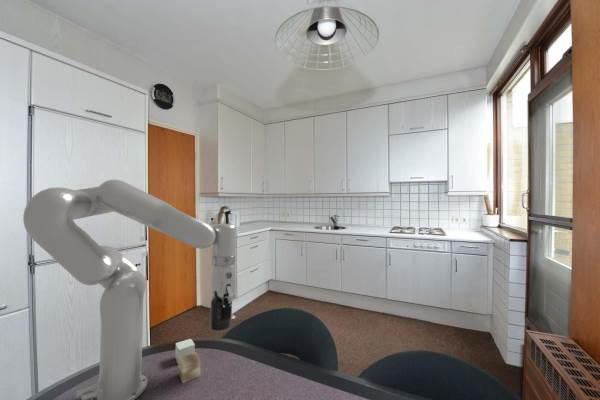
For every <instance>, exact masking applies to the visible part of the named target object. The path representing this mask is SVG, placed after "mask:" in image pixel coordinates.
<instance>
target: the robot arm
mask: <svg viewBox="0 0 600 400" xmlns="http://www.w3.org/2000/svg"><path fill="white" fill-rule="evenodd" d="M113 212H114V213H117V214H119V215H121V216H124V217H126V218H129V219H131V220H133V221H136V222H137V223H140V224H142V225H144V226H146V227H148V228H151V229H153V230H154V231H157V232H159V233H162V234H164V235H166V236H169V237H172V238H173V239H175V240H178V241H179V242H183V244H187V245H189V246H191V247H193V248H196V249H201V250H204V249H207V248H210V247H211V246H212V249H211V250H212V252H211V256H212V257H211V267H212V276H211V291H212V299H213V298H214V297H215V296H214V292H215V291H216V292H217V296H218V297H220V298H221V301H222V307H221V315H220V319H221V320H225V319H229V318H230V317H231V306H232V307H233V300H234V297H235V296H236V270H235V265H236V252H237V251H236V249H237V248H236V245H237V242H236V241H237V225H235V224H233V223H232V224H231V223H217V224H213V223H206V222H204V221H201V220H199V219H198V218H195V217H193V216H191V215H189V214H187V213H185V212H183V211H181V210H179V209H177V208H175V207H174V206H173V205H171V204H169V203H168V202H166V201H164V200H163V199H160V198H158V197H156V196H154V195H152V194H150V193H147V192H146V191H144V190H143V189H140V188H138V187H136V186H133V185H131V184H130V183H127V182H125V181H123V180H120V179H109V180H106V181H104V182H102V183H101V184H100V185H99V186H93V187H88V188H82V189H73V188H67V187H50V188H46V189H43V190H40V191H39V192H37V193H36V194H34V195H33V196H32V197H31V199H29V201H28V202H27V204H26V206H25V208H24V210H23V215H22V217H23V221H22V222H23V225H24V228H25V230H26V232H27V234H28V236H29V237H30V238H31V239H32V240H33V241H34V242H35V243H36V244H37V245H38V246H40V248H41V249H43V250H44V251H45V252H46V253H47V254H48V255H49V256H51V258H53V260H55V261H56V262H57V263H58V264H59V265H60V266H61V267H62V268H64V270H66V271H67V272H68V273H69V274H70V275H71V276H72V277H73V278H74V279H75V280H76V281H77V282H79V283H81V284H82V285H86V286H96V285H101V287H102V288H104V290H103V292H102V294H101V297H100V302H99V315H100V316H99V317H100V344H99V345H100V349H99V350H100V351H99V369H98V370H99V371H98V373H99V376H98V378H97V382H96V383H93V384H92V385H91V386H88V387H84V388H81V389H78V390H76V392H75V400H79V399H81V400H135V399H138V397H140V396H141V395H142V394H143V393H144V392H145V390H146V388H147V387H148V378H147V376H145V375H144V374H142V365H143V364H142V362H143V361H142V359H143V357H142V356H143V331H144V329H143V326H144V325H143V324H144V297H145V292H146V290H147V289H146V288H147V279H146V277H145V276H144V274H143V273H142V272H141V271H140V270H139V268H137V267H136V266H135V265H134V264H133V263H132V262H131V261H130V260H129V259H128V258H127V257H126V256H125V255H123V253H122V252H120V250H118V249H116V248H114V247H113V246H109V245H100V244H98V242H97V241H95V240H94V239H93V238H92V237H91V236H90V235H89V234H88V233H87V232H86V231H85V230H83V229H82V228H81V227H80V226H79V225H77V224H76V222H75V221H74V220H79V219H84V218H89V217H93V216H97V215H98V216H99V215H104V214H108V213H113ZM224 295H227V296H225V297H224ZM227 298H228V299H227ZM224 299H227V300H226V301H224Z"/></svg>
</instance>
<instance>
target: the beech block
mask: <svg viewBox="0 0 600 400" xmlns="http://www.w3.org/2000/svg"><path fill="white" fill-rule="evenodd" d="M201 361H202V360H201V358H200V356H199V354H198V353H197V352H195V353H192V354H189V355H186V356H184V357H181V358H179V365H178V375H179V378H180V380H181V382H182V384H184V383H186V382H190V381H192V380H195V379H197V378H199V377H201V363H202V362H201Z"/></svg>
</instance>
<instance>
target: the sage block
mask: <svg viewBox="0 0 600 400" xmlns="http://www.w3.org/2000/svg"><path fill="white" fill-rule="evenodd" d="M195 351H196V344H195V343H194V341H193V340H192V338H188V339H185V340H182V341H178V342H175V361H176V363H177V364H178V366H179V358H181V357H184V356H186V355H189V354H192V353H195Z"/></svg>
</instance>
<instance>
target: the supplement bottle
mask: <svg viewBox="0 0 600 400" xmlns="http://www.w3.org/2000/svg"><path fill="white" fill-rule="evenodd" d="M214 296H215V297H214V298H213V297H212V299H211V300H210V312H209V313H210V314H209V315H210V316H209V317H210V318H209V327H210V330H212V331H216V332H217V331H224V330H227V329H228V328H231V326H232V315H233V305H232V306H231V317H230V318H229V319H225V320H221V319H220V315H221V307H222V301H221V298H220V297H218V296H217V292H216V291H215V292H214ZM225 296H227V295H224V297H225ZM227 299H228V298H227ZM227 299H224V301H226V300H227Z"/></svg>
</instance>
